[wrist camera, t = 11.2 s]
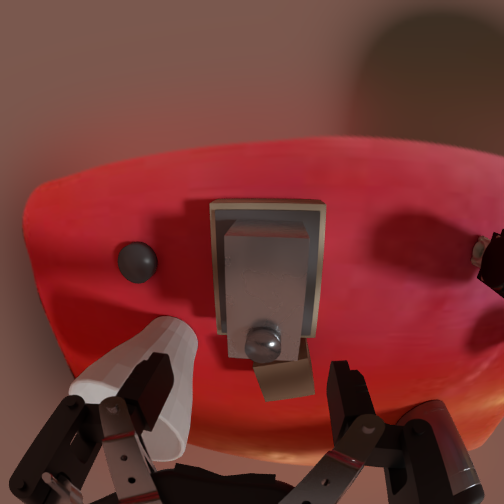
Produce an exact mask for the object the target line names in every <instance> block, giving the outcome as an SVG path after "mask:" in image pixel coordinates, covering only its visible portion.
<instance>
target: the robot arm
mask: <svg viewBox="0 0 504 504" xmlns="http://www.w3.org/2000/svg"><path fill="white" fill-rule="evenodd" d="M173 385H174V374H173V370H172V366H171V362H170V358H169V355H168V354H166V353H158V352H153V353H152V354H151V356H150V357H149V359H148V360H143V361H141V362H140V363H139V364H137V365H136V366H135V368H134V369H133V371H132V373H131V374H130V375H129V377H128V378H127V379H126V381H125V382H124V384H123V385H122V387H121V388H120V390H119V391H118V393H117V394H116V396H111V397H107V398H105V399H104V400H102V401H101V403H100V404H90V403H85V401H84V399H83V398H82V397H81V396H79V395H70V396H67V397H65V398H64V399H63V400H62V401H61V403H60V404H59V405H58V407H57V408H56V410H55V411H54V413H53V414H52V415H51V417H50V418H49V420H48V421H47V422H46V424H45V425H44V427H43V428H42V430H41V431H40V432H39V434H38V435H37V437H36V438H35V440H34V442H33V443H32V444H31V446H30V447H29V449H28V450H27V452H26V454H25V455H24V457H23V458H22V460H21V461H20V463H19V465H18V466H17V468H16V470H15V471H14V473H13V475H12V476H11V478H10V480H9V488H10V490H11V492H12V493H13V494H14V495H15V496H16V497H17V498H18V499H20V500H21V501H22V502H24V504H83V496H82V493H81V492H80V490H81V488H82V486H83V484H84V481H85V479H86V477H87V475H88V473H89V471H90V469H91V467H92V465H93V463H94V460H95V458H96V456H97V454H98V452H99V450H100V448H101V446H102V444H103V448H104V452H105V456H106V460H107V463H108V467H109V471H110V474H111V478H112V481H113V484H114V487H115V490H116V492H115V493H112V494H110V495H108V496H106V497H104V498H101V499H99V500H97V501H94V502H92V503H90V504H337V503H338V502H339V501H340V499H341V498H342V497H343V495H344V494H345V493H346V491H347V490H348V489H349V487H350V486H351V484H352V483H353V482H354V480H355V478H357V476H358V475H359V473H360V472H361V470H362V469H363V467H364V466H373V467H384V472H385V479H386V486H387V494H388V502H389V504H480V503H481V502H482V501H483V499H484V491H483V488H482V485H481V483H480V480H479V478H478V475H477V473H476V470H475V468H474V465H473V463H472V461H471V459H470V456H469V454H468V451H467V449H466V447H465V445H464V443H463V440H462V438H461V436H460V434H459V432H458V430H457V428H456V426H455V424H454V422H453V419H452V417H451V415H450V413H449V412H448V410H447V408H446V406H445V404H444V403H443V402H442V401H440V400H434V401H429V402H426V403H424V404H421V405H419V406H417V407H415V408H414V409H412V410H411V411H409V412H408V413H407V414H405V415H404V416H403V417H402V418H401V419H400V420H399V421H398V423H397V424H396V425H390V424H386V423H384V421H383V420H382V419H381V418H380V417H379V416H376V414H375V410H374V407H373V404H372V401H371V398H370V395H369V392H368V388H367V386H366V382H365V379H364V376H363V375H362V374H361V373H360V372H359V371H358V370H350V368H349V365H348V362H347V360H345V361H332V362H331V365H330V371H329V376H328V381H327V399H328V406H329V412H330V419H331V426H332V433H333V441H334V448H333V449H332V451H328V452H327V453H326V454H325V455H324V456H323V457H322V459H321V460H320V461H319V462H318V463H317V464H316V465H315V466H314V468H313V469H312V470H311V471H310V472H309V473H308V474H307V475H306V476H305V477H304V478H303V480H302V481H301V482H300V483H299V484H298V485H297V486H296V487H293V486H292V485H289V484H287V483H285V482H281V481H277V480H275V477H276V475H275V474H254V473H249V474H240V475H231V476H221V475H218V474H216V473H213V472H210V471H208V470H205V469H202V468H200V467H194V466H189V465H184V464H179V463H176V465H175V468H174V469H165V470H160V471H157V470H156V468H155V466H154V465H153V462H152V460H151V457H150V455H149V452H148V450H147V447H146V445H145V442H144V440H143V437H142V435H141V434H142V432H143V430H145V431H149V432H152V430H153V428H154V426H155V424H156V421H157V419H158V417H159V415H160V413H161V411H162V409H163V407H164V404H165V402H166V400H167V398H168V396H169V394H170V392H171V390H172V388H173ZM76 432H77V434H76ZM75 434H76V436H75ZM74 436H75V438H74V440H73V441H72V439H73V437H74ZM71 441H72V443H71ZM70 443H71V445H70Z"/></svg>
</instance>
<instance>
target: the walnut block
mask: <svg viewBox="0 0 504 504" xmlns="http://www.w3.org/2000/svg"><path fill="white" fill-rule="evenodd" d="M253 369H254V372H255V375H256V377H257V380H258V383H259V385H260V388H261V391H262V394H263V396H264V399H265V402H267V401H275V400H283V399H290V398H296V397H302V396H308V395H314V394H315V390H314V381H313V373H312V364H311V359H310V354H309V349H308V344H307V339H306V338H300V346H299V354H298V361H284V360H274V361H272V362H269V363H257V362H255V361H254V363H253Z"/></svg>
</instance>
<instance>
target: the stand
mask: <svg viewBox="0 0 504 504" xmlns="http://www.w3.org/2000/svg"><path fill="white" fill-rule="evenodd" d="M236 220H271V221H299V222H303V224H304V226H305V228H306V231H307V233H308V235H309V238H310V243H309V257H308V269H307V281H306V292H305V302H304V312H303V321H302V330H301V338H315V334H316V326H317V317H318V308H319V299H320V289H321V278H322V267H323V254H324V239H325V221H326V204H325V203H324V202H322V201H321V200H309V199H216V200H215V201H213V202H211V203H210V227H211V248H212V265H213V281H214V296H215V309H216V322H217V334H220V335H227V316H226V288H225V250H224V235H225V234H226V233H227V231H228V230H229V229H230V227H231V226H232V225H233V224H234V222H235V221H236Z"/></svg>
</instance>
